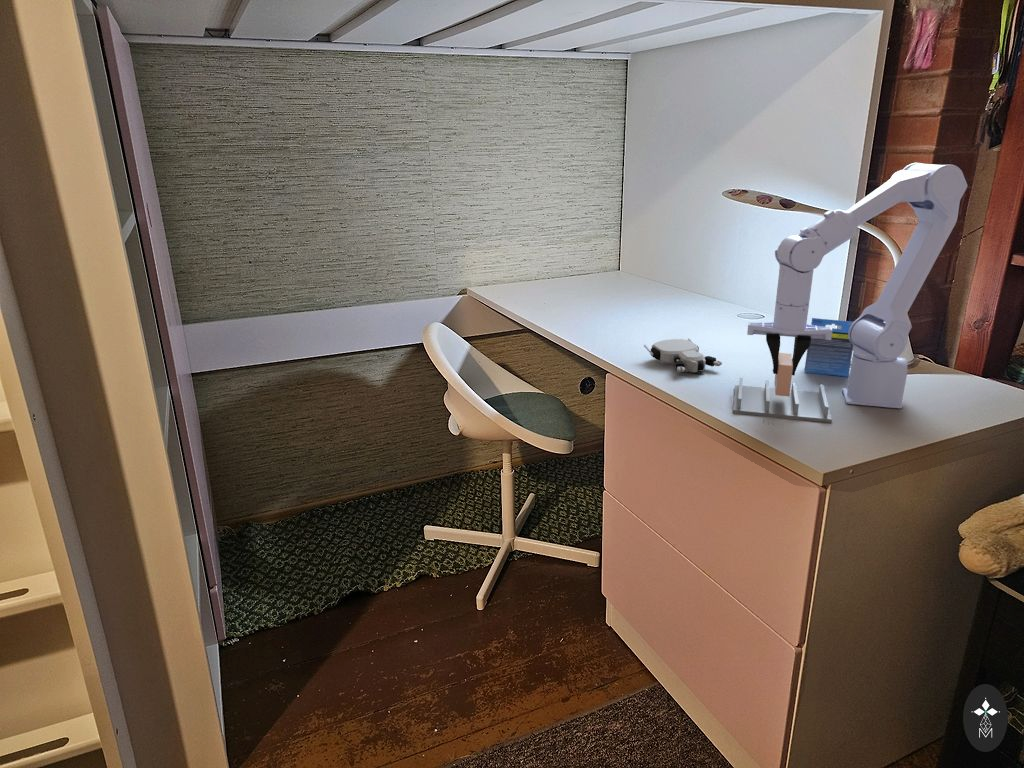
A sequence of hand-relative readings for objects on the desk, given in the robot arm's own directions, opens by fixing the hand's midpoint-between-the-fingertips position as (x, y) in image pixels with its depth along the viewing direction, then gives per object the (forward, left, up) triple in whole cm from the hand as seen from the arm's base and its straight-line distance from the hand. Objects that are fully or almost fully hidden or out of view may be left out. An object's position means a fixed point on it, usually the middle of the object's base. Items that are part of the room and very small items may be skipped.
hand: (783, 373), depth 131 cm
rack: (0, 0, -6) cm, 6 cm away
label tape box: (-10, -22, -7) cm, 25 cm away
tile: (0, 0, -3) cm, 3 cm away
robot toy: (+20, -19, -7) cm, 28 cm away
